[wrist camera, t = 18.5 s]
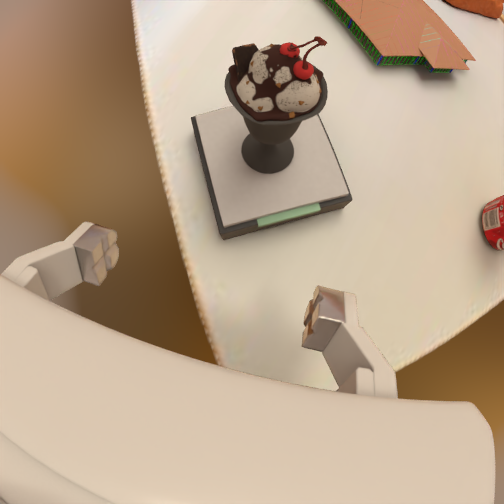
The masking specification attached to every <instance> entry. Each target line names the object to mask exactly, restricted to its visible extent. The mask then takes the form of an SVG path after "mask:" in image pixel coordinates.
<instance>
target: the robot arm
mask: <svg viewBox="0 0 504 504" xmlns="http://www.w3.org/2000/svg"><path fill="white" fill-rule="evenodd" d="M116 240H117V233H116V231H115V230H112V229H109V228H106V227H103V226H100V225H97V224H93V223H90V222H83V223H82V224H81V225H80V226H79V227H78V228H77V229H76V230H75V231H74V232H73V233H72V234H71V235H70V236H68V237H67V238H66V239H65V240H64V241H63V242H61V241H60V242H57V243H54V244H51V245H49V246H46V247H44V248H41V249H38V250H36V251H33V252H30V253H28V254H25V255H23V256H20V257H18V258H16V259H15V260H14V262H12V263H11V264H10V266H9V267H8V268H7V269H6V270H5V271H4V272H3V273H2V274H0V504H494V494H495V453H494V441H493V435H492V431H491V428H490V426H489V425H488V423H487V421H486V420H485V418H484V417H483V415H482V414H481V413H480V411H479V410H478V409H477V408H476V406H475V405H474V404H473V403H471V402H464V401H424V400H408V399H398V395H397V385H396V376H395V371H394V370H393V368H392V367H391V365H390V364H389V363H388V361H387V360H386V359H385V357H384V356H383V354H382V353H381V352H380V350H379V349H378V348H377V346H376V345H375V343H374V342H373V341H372V339H371V338H370V337H369V335H368V334H367V333H366V331H365V330H364V329H363V327H359V320H358V310H357V301H356V295H355V294H352V293H348V292H343V291H338V290H334V289H330V288H326V287H322V286H317V287H316V289H315V291H314V293H313V299H312V300H310V301H309V304H308V306H307V309H306V312H305V316H304V325H305V327H306V328H305V330H304V332H303V337H302V347H304V348H308V349H312V350H317V351H321V352H322V353H323V355H324V358H325V360H326V362H327V364H328V366H329V368H330V370H331V372H332V374H333V376H334V378H335V380H336V382H337V384H338V386H339V389H338V390H337V391H331V390H325V389H319V388H313V387H308V386H302V385H297V384H292V383H287V382H282V381H278V380H273V379H269V378H264V377H260V376H256V375H252V374H248V373H244V372H240V371H236V370H232V369H228V368H225V367H221V366H218V365H214V364H210V363H207V362H204V361H200V360H197V359H194V358H191V357H187V356H184V355H181V354H178V353H175V352H172V351H169V350H166V349H163V348H160V347H157V346H155V345H152V344H149V343H146V342H143V341H141V340H138V339H136V338H133V337H130V336H127V335H125V334H122V333H120V332H118V331H115V330H113V329H110V328H107V327H105V326H103V325H101V324H98V323H96V322H94V321H91V320H89V319H87V318H84V317H82V316H80V315H78V314H76V313H73V312H71V311H69V310H67V309H65V308H63V307H61V306H59V305H57V304H55V303H53V302H51V301H50V300H52V299H54V298H56V297H57V296H59V295H61V294H62V293H64V292H66V291H67V290H69V289H71V288H73V287H74V286H76V285H78V284H79V283H81V282H83V281H86V282H89V283H91V284H94V285H97V286H99V285H100V284H101V283H102V282H103V280H104V279H105V277H106V276H107V271H108V270H111V269H113V267H114V266H115V264H116V262H117V260H118V255H119V249H118V246H117V245H116V243H115V241H116Z"/></svg>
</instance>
